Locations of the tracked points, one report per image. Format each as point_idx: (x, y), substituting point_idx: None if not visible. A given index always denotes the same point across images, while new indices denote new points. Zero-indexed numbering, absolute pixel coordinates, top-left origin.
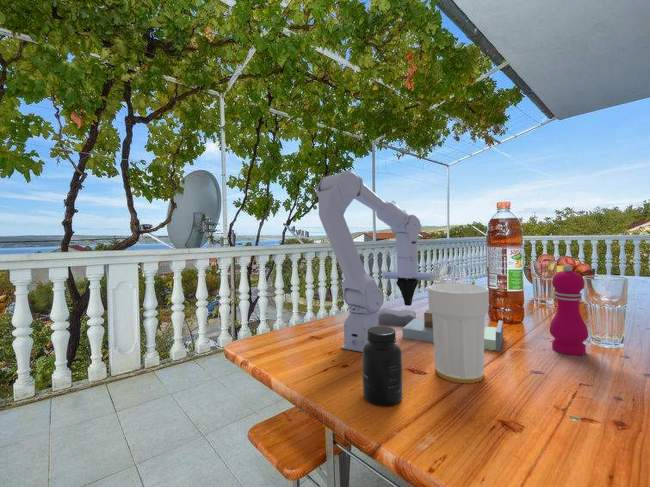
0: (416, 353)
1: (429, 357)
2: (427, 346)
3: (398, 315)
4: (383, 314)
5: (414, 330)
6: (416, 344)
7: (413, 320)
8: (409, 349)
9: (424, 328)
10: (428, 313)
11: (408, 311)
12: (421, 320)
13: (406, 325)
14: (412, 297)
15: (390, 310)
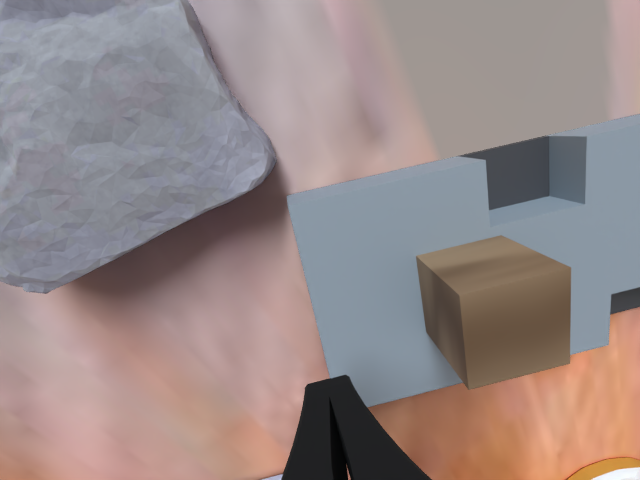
0: (454, 473)
1: (502, 472)
2: (463, 400)
3: (162, 227)
4: (61, 284)
5: (401, 397)
6: (419, 409)
7: (309, 250)
8: (419, 461)
9: (434, 349)
10: (496, 379)
11: (159, 87)
12: (352, 219)
13: (329, 363)
14: (371, 418)
15: (40, 197)
